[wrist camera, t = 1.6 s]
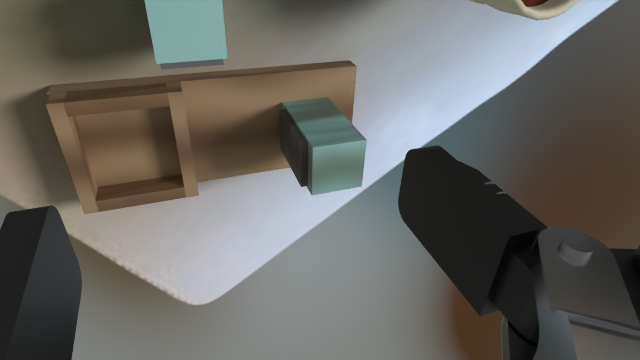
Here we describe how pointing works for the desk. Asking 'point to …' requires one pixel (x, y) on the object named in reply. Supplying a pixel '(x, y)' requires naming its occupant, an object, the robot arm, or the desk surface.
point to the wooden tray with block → (207, 131)
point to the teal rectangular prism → (187, 32)
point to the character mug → (531, 7)
